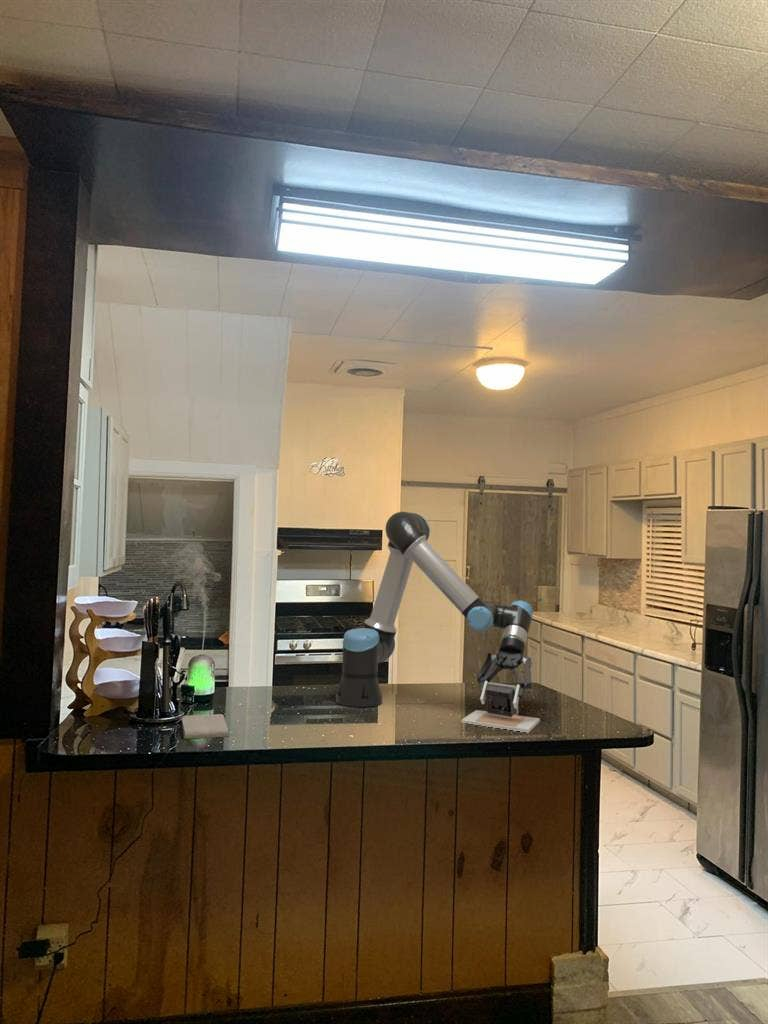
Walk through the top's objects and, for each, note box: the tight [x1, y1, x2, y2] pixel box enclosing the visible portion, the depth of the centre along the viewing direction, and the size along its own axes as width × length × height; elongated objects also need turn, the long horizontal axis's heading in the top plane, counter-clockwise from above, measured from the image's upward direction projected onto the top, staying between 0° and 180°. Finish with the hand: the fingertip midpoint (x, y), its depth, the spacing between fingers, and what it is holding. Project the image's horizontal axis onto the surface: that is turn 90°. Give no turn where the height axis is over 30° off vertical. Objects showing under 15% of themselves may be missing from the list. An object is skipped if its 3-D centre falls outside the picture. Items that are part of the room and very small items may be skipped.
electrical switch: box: [486, 681, 520, 717], centre depth 214 cm, size 9×5×9 cm, turn 57°
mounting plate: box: [460, 709, 541, 734], centre depth 214 cm, size 20×15×1 cm
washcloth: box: [181, 713, 230, 740], centre depth 196 cm, size 12×18×3 cm, turn 19°
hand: (498, 703), depth 212 cm, fingers closed on electrical switch, 9 cm apart
